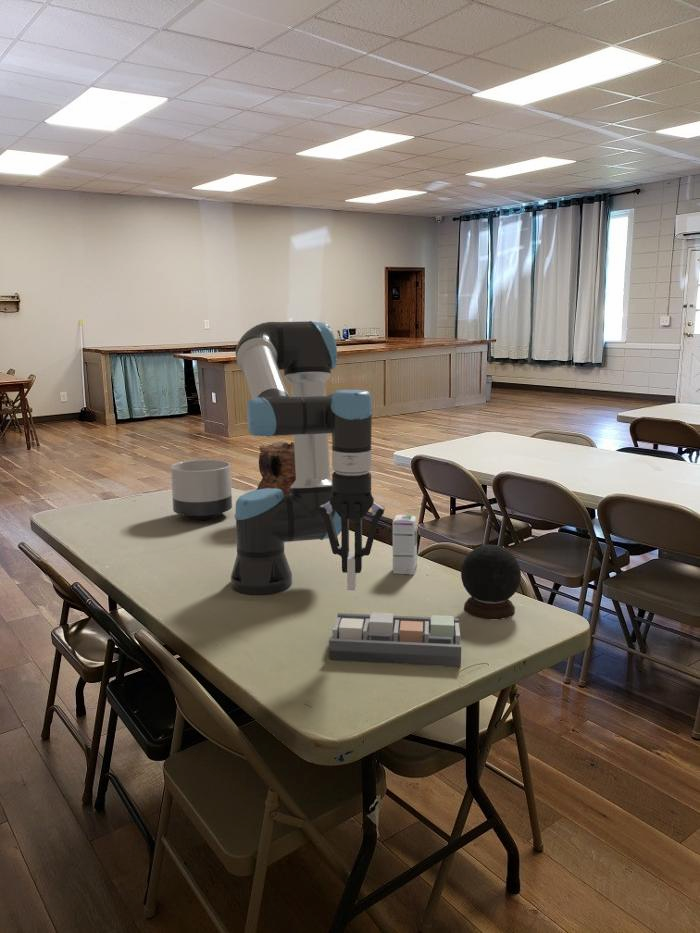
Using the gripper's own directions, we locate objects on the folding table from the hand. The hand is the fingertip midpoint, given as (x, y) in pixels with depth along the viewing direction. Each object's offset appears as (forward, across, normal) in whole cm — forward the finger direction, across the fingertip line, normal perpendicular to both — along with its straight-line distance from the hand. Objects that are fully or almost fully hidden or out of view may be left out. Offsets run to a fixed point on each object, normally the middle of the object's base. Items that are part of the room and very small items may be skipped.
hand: (351, 587), depth 139 cm
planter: (+13, -60, +89) cm, 108 cm away
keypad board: (+12, +9, -1) cm, 15 cm away
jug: (+13, -31, +90) cm, 96 cm away
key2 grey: (+8, +6, 0) cm, 10 cm away
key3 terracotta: (+10, +12, 0) cm, 16 cm away
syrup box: (+13, +9, +44) cm, 47 cm away
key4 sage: (+8, +18, 0) cm, 20 cm away
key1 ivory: (+10, 0, 0) cm, 10 cm away
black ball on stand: (+12, +29, +21) cm, 38 cm away
